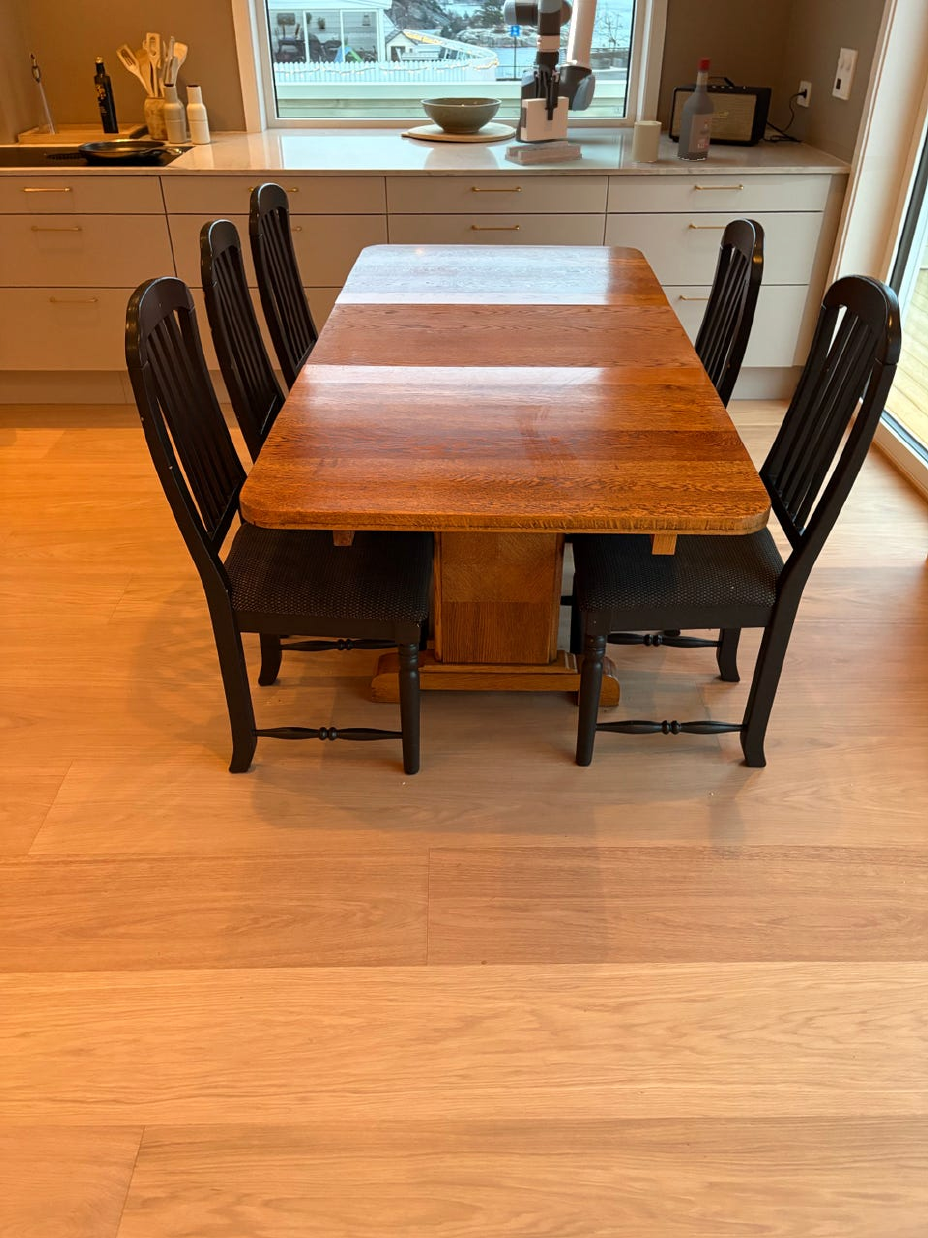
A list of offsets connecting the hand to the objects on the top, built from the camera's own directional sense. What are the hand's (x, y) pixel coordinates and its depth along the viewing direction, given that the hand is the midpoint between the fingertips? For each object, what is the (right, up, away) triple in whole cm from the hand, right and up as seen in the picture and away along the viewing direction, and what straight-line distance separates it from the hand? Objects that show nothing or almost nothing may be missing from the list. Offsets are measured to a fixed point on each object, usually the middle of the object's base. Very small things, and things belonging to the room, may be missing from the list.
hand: (544, 129), depth 322 cm
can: (+35, -9, +4) cm, 36 cm away
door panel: (0, -2, +2) cm, 3 cm away
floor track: (0, -7, +6) cm, 9 cm away
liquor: (+52, -7, +6) cm, 53 cm away
